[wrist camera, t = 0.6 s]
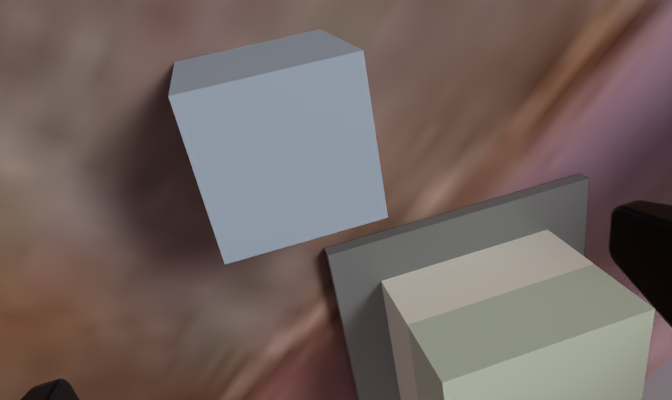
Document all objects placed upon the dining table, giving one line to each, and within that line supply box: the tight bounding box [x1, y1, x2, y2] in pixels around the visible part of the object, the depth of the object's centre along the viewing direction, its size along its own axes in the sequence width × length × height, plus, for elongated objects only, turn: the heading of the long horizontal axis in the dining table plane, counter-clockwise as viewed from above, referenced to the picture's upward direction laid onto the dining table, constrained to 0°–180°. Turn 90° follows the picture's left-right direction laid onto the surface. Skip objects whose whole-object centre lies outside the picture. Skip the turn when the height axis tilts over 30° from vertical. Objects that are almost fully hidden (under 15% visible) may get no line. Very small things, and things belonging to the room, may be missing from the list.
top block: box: [168, 29, 388, 264], centre depth 16 cm, size 5×5×5 cm
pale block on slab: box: [325, 174, 655, 400], centre depth 22 cm, size 12×12×7 cm
